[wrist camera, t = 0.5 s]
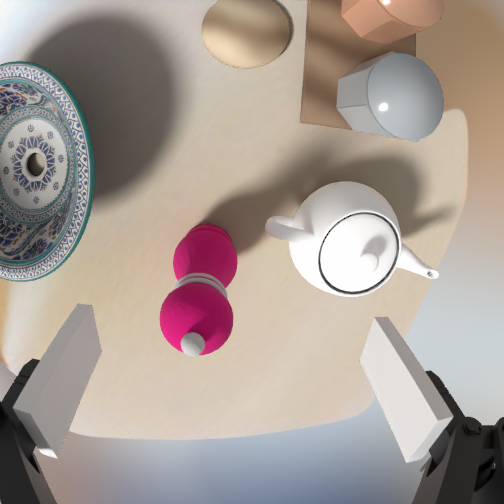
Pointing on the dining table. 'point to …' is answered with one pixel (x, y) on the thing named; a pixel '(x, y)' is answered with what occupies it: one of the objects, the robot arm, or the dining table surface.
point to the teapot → (346, 240)
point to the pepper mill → (200, 292)
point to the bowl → (50, 180)
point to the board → (335, 60)
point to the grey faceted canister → (391, 97)
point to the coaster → (245, 32)
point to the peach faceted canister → (390, 17)
